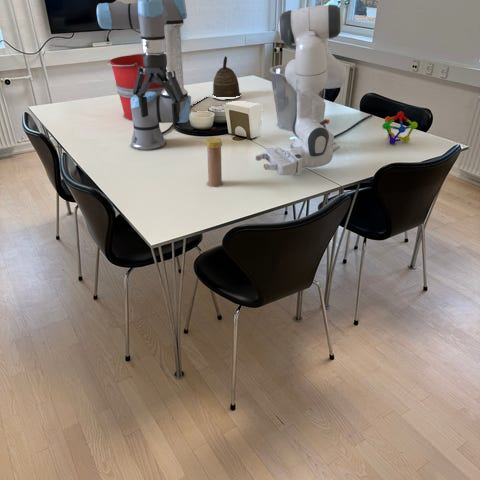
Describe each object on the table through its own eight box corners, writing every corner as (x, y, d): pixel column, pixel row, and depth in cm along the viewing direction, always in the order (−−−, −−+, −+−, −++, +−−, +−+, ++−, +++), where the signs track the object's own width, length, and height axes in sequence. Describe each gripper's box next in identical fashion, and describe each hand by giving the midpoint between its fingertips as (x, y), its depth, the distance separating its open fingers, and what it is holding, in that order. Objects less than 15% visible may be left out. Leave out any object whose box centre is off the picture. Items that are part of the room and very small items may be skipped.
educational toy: (377, 146, 209) (379, 114, 202) (384, 138, 219) (386, 107, 211) (411, 149, 202) (415, 116, 195) (417, 141, 212) (420, 109, 204)
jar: (223, 185, 170) (223, 142, 161) (211, 187, 168) (209, 144, 159) (218, 180, 174) (217, 138, 165) (206, 182, 172) (205, 139, 163)
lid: (224, 146, 161) (224, 141, 160) (209, 149, 159) (209, 143, 158) (218, 141, 166) (218, 136, 165) (203, 143, 164) (203, 138, 163)
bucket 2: (296, 138, 215) (301, 78, 201) (255, 124, 234) (256, 68, 219) (335, 125, 232) (342, 70, 217) (294, 113, 251) (297, 61, 236)
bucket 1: (123, 105, 263) (116, 51, 247) (182, 106, 262) (179, 52, 247) (107, 123, 234) (97, 63, 218) (173, 124, 233) (168, 64, 217)
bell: (227, 105, 294) (202, 96, 282) (238, 66, 289) (213, 55, 277) (243, 108, 280) (217, 98, 268) (255, 66, 275) (229, 55, 263)
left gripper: (116, 51, 144) (125, 116, 155) (179, 58, 133) (183, 127, 144) (132, 48, 149) (139, 111, 160) (193, 55, 139) (196, 122, 150)
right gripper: (283, 142, 182) (251, 145, 178) (304, 160, 165) (269, 164, 162) (282, 156, 185) (251, 160, 182) (302, 176, 169) (268, 180, 165)
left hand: (160, 119), depth 152 cm, fingers open, 13 cm apart
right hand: (259, 162), depth 172 cm, fingers open, 8 cm apart
